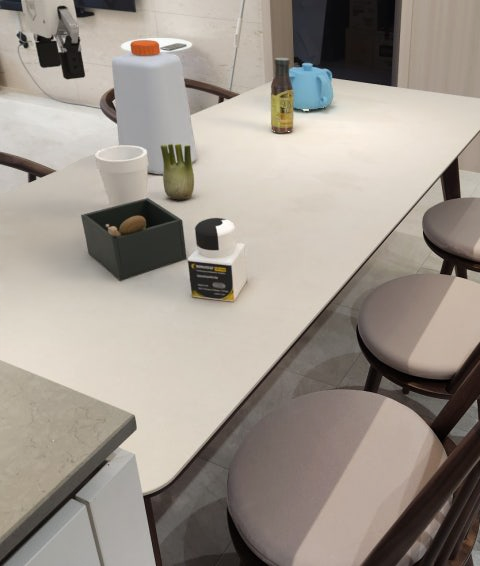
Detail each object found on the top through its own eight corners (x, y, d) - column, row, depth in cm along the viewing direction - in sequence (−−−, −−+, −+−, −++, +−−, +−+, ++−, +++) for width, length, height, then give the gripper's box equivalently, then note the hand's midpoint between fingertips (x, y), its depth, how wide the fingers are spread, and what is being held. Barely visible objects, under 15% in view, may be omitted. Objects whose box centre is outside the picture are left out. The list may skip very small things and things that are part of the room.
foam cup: (98, 213, 128) (86, 151, 121) (141, 202, 133) (132, 142, 127) (120, 229, 122) (109, 165, 115) (164, 216, 128) (156, 154, 121)
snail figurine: (110, 246, 111) (97, 214, 100) (142, 227, 113) (133, 195, 103) (127, 269, 110) (116, 240, 99) (159, 250, 113) (152, 220, 102)
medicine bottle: (191, 297, 102) (183, 230, 96) (207, 276, 108) (200, 211, 102) (234, 302, 101) (229, 235, 95) (247, 280, 107) (243, 216, 101)
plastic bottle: (151, 150, 162) (136, 34, 148) (204, 158, 158) (193, 40, 144) (113, 168, 150) (92, 44, 135) (169, 178, 146) (154, 51, 132)
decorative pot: (326, 116, 196) (326, 71, 189) (276, 111, 198) (275, 66, 191) (337, 103, 210) (338, 60, 203) (290, 99, 212) (289, 56, 205)
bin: (119, 280, 106) (112, 239, 102) (88, 253, 113) (80, 214, 109) (186, 258, 113) (182, 219, 109) (153, 234, 121) (148, 197, 117)
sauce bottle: (282, 135, 177) (280, 62, 167) (266, 131, 180) (263, 58, 170) (298, 131, 182) (297, 59, 172) (282, 126, 185) (281, 55, 175)
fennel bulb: (198, 196, 138) (192, 142, 132) (186, 204, 134) (180, 149, 128) (174, 192, 139) (168, 138, 133) (161, 200, 135) (154, 145, 129)
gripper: (-7, -51, 97) (19, 65, 106) (34, -42, 87) (59, 86, 95) (43, -51, 102) (64, 60, 110) (89, -42, 91) (108, 79, 100)
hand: (62, 72), depth 103 cm, fingers open, 9 cm apart
